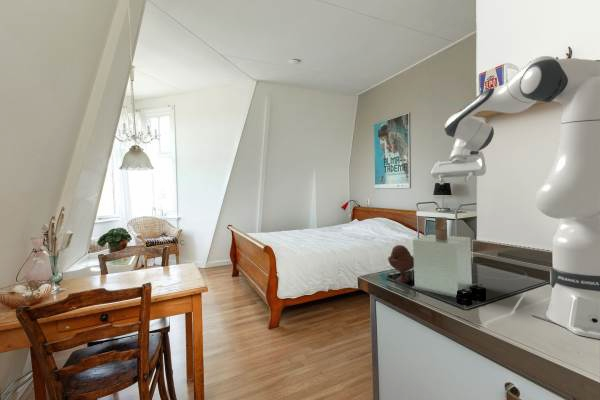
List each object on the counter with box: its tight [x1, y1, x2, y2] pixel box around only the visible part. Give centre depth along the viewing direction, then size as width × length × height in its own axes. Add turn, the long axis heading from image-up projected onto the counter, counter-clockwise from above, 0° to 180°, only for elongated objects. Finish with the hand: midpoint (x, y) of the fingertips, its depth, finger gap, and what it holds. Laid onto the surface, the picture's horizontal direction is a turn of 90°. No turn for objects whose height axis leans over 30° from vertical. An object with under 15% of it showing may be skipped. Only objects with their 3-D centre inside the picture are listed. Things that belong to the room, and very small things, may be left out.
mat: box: [411, 283, 474, 298], centre depth 106 cm, size 17×17×1 cm
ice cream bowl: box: [387, 244, 414, 283], centre depth 115 cm, size 11×11×15 cm
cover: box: [412, 216, 473, 296], centre depth 105 cm, size 15×15×26 cm
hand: (453, 182), depth 114 cm, fingers open, 8 cm apart
